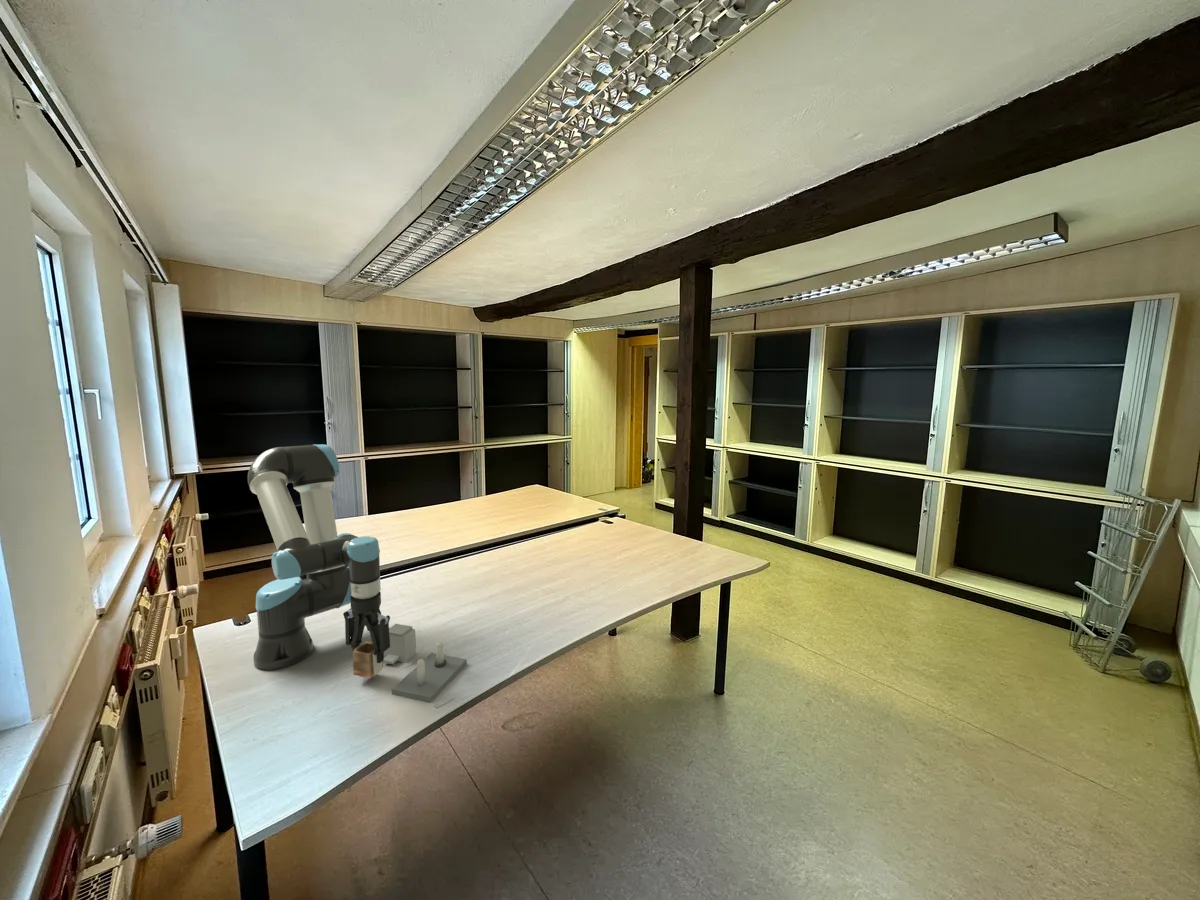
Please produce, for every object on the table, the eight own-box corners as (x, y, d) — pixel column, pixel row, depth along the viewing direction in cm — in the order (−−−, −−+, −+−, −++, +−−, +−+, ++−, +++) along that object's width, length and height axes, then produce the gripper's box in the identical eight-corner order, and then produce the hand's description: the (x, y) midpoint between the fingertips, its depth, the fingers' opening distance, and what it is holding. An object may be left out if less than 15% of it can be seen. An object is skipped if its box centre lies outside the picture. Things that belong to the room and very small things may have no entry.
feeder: (376, 663, 139) (374, 636, 138) (394, 649, 146) (393, 623, 145) (398, 668, 137) (397, 640, 136) (416, 653, 144) (415, 626, 143)
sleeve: (353, 674, 129) (352, 651, 128) (367, 663, 134) (366, 641, 133) (369, 678, 128) (368, 655, 127) (383, 667, 133) (382, 644, 132)
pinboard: (392, 694, 125) (390, 665, 124) (431, 657, 142) (431, 631, 141) (430, 702, 122) (429, 672, 121) (466, 663, 139) (466, 637, 138)
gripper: (327, 594, 126) (331, 671, 130) (384, 604, 122) (387, 684, 125) (348, 582, 133) (351, 656, 137) (403, 592, 129) (405, 668, 132)
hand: (368, 669), depth 131 cm, fingers closed on sleeve, 5 cm apart
